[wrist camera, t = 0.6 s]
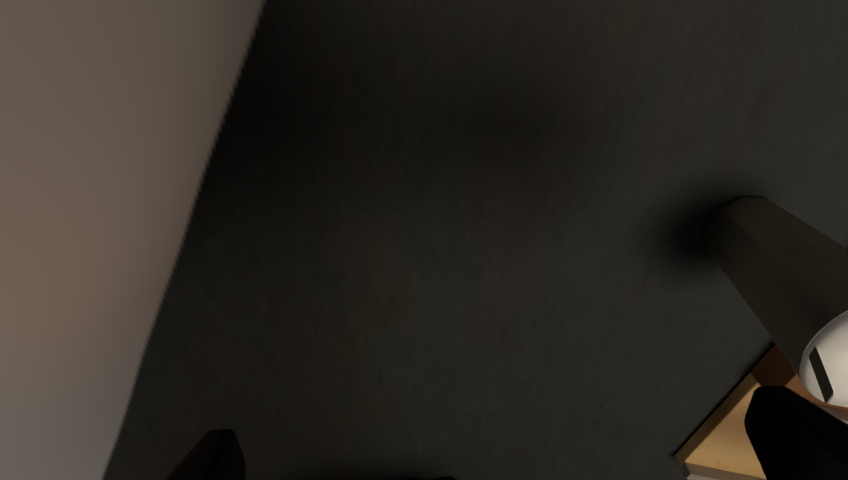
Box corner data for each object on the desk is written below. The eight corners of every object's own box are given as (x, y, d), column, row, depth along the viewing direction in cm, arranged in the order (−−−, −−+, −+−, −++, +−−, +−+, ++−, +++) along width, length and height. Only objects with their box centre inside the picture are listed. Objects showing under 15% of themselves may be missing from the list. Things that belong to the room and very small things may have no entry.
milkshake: (692, 176, 22) (873, 337, 14) (810, 185, 23) (1055, 347, 14) (656, 265, 25) (792, 450, 16) (764, 272, 25) (951, 455, 17)
